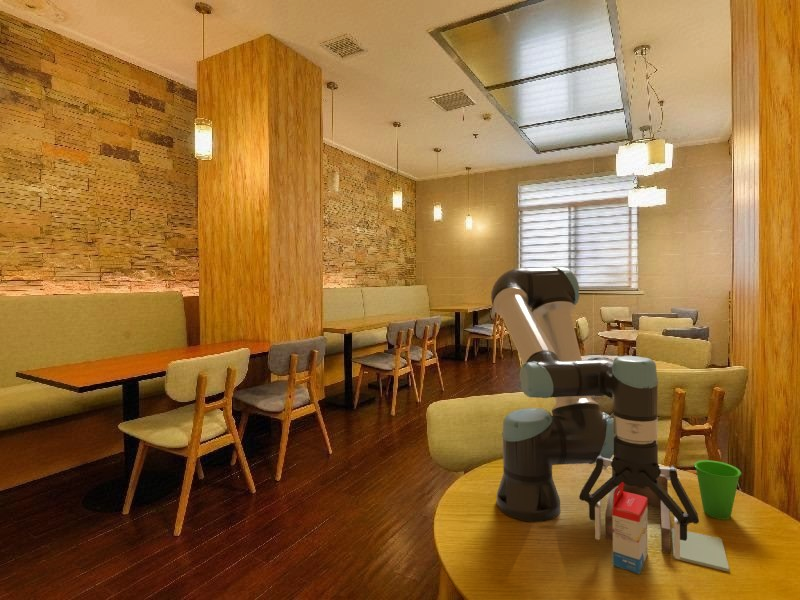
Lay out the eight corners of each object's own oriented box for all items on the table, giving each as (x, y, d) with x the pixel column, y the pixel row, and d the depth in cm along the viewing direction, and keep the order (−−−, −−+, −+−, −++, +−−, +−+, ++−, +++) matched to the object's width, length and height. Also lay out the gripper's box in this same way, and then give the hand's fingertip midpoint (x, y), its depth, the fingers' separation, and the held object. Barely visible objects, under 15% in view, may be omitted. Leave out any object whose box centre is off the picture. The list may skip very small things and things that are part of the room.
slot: (605, 537, 96) (605, 501, 95) (612, 496, 113) (612, 465, 113) (670, 553, 90) (670, 515, 89) (667, 506, 107) (667, 474, 107)
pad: (673, 558, 88) (673, 555, 88) (671, 530, 98) (671, 527, 98) (729, 572, 84) (729, 568, 84) (721, 541, 93) (721, 538, 93)
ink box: (640, 575, 83) (639, 499, 83) (611, 565, 86) (611, 492, 86) (648, 553, 90) (648, 482, 89) (621, 544, 93) (621, 476, 92)
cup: (743, 528, 98) (744, 479, 97) (694, 517, 102) (694, 471, 102) (738, 510, 105) (739, 464, 105) (693, 500, 110) (693, 457, 110)
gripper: (563, 434, 88) (565, 538, 89) (716, 455, 76) (716, 575, 77) (569, 423, 95) (571, 520, 96) (711, 441, 82) (711, 552, 83)
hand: (636, 545), depth 86 cm, fingers open, 13 cm apart
